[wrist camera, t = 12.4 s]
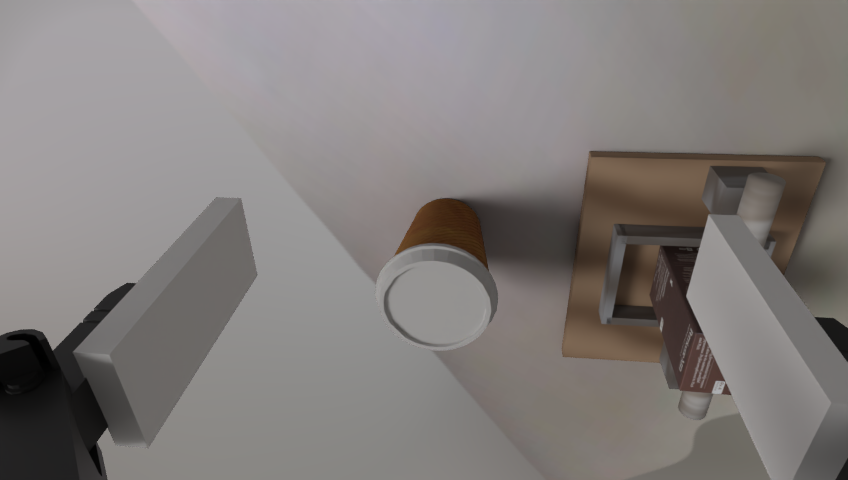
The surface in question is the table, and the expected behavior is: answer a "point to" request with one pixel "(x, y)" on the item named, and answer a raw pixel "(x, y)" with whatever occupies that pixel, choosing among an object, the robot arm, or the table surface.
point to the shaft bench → (668, 239)
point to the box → (683, 323)
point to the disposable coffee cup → (438, 280)
